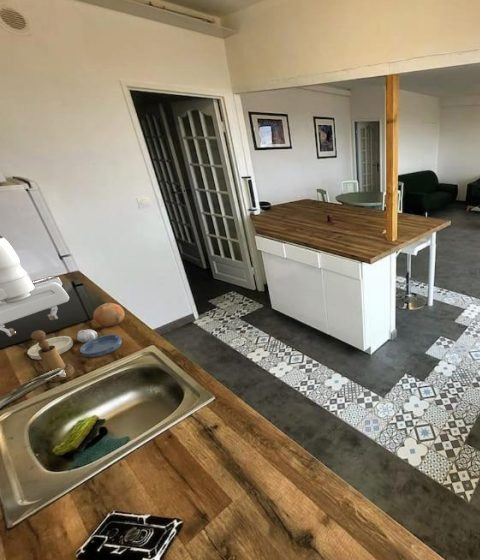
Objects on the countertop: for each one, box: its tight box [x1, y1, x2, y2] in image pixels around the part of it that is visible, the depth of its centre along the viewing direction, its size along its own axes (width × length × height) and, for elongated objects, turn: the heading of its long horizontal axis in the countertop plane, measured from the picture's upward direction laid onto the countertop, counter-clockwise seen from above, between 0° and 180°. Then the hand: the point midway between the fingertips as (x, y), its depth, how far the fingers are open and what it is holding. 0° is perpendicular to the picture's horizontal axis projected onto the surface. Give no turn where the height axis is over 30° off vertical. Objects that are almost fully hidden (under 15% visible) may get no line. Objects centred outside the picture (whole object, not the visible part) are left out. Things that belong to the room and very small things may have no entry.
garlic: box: [76, 328, 99, 344], centre depth 120 cm, size 6×5×5 cm
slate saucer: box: [79, 333, 123, 359], centre depth 117 cm, size 12×12×2 cm
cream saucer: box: [26, 335, 74, 361], centre depth 115 cm, size 12×12×2 cm
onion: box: [92, 302, 125, 328], centre depth 129 cm, size 10×10×10 cm
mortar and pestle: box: [30, 329, 76, 383], centre depth 100 cm, size 7×6×18 cm
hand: (33, 326), depth 96 cm, fingers open, 8 cm apart
